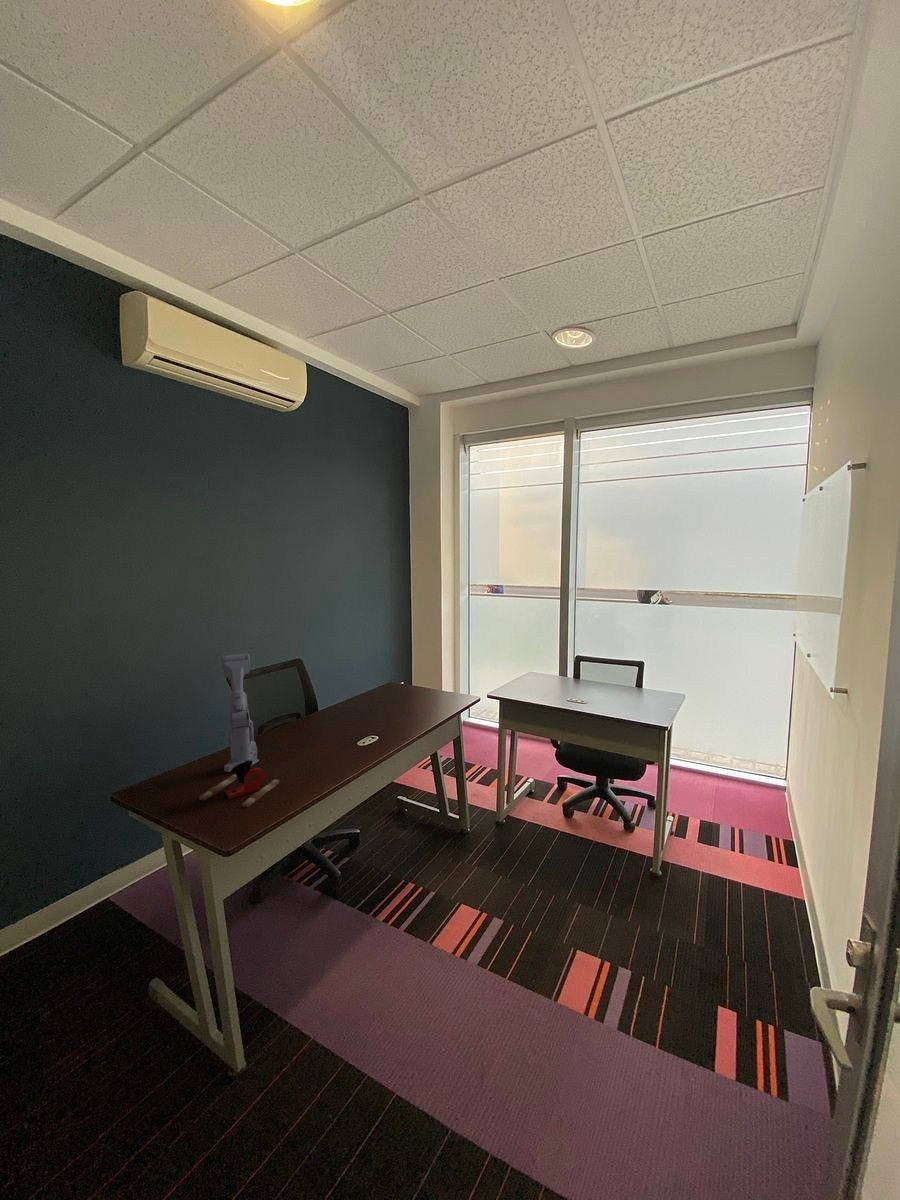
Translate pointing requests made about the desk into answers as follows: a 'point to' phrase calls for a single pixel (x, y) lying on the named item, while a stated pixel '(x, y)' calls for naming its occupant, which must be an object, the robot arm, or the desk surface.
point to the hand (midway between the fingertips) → (242, 782)
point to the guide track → (231, 779)
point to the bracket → (249, 784)
